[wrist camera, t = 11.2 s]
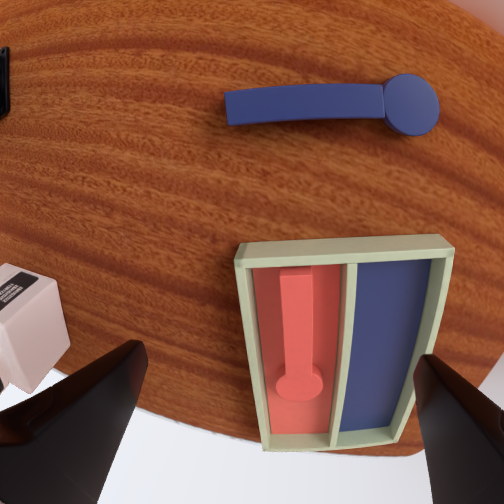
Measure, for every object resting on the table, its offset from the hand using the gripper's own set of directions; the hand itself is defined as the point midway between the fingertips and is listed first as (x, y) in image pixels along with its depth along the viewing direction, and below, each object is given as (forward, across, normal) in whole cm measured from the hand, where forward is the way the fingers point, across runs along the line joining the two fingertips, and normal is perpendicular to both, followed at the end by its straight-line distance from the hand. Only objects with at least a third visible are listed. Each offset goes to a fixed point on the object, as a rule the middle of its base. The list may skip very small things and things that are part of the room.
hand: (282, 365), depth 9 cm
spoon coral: (+10, -1, +8) cm, 13 cm away
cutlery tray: (+11, -4, +10) cm, 15 cm away
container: (+11, +23, +7) cm, 27 cm away
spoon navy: (+11, -3, -8) cm, 14 cm away
